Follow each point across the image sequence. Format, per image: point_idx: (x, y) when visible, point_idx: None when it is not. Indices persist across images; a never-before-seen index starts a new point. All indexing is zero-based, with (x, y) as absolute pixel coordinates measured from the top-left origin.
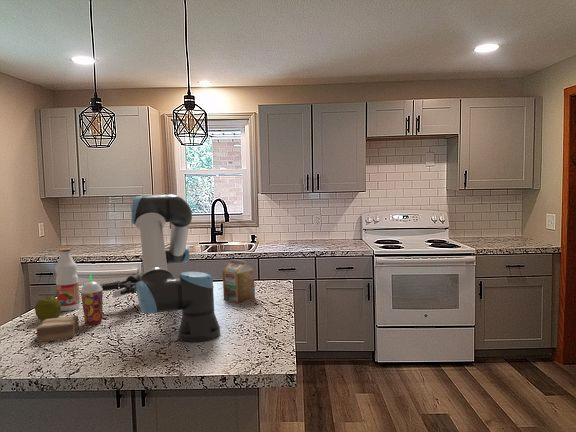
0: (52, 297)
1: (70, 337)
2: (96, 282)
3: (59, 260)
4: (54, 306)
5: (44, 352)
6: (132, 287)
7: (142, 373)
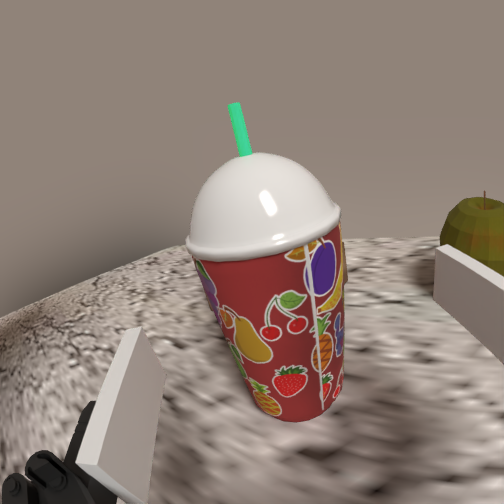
0: (491, 210)
1: None
2: (220, 175)
3: None
4: (451, 242)
5: None
6: (10, 490)
7: (20, 311)
